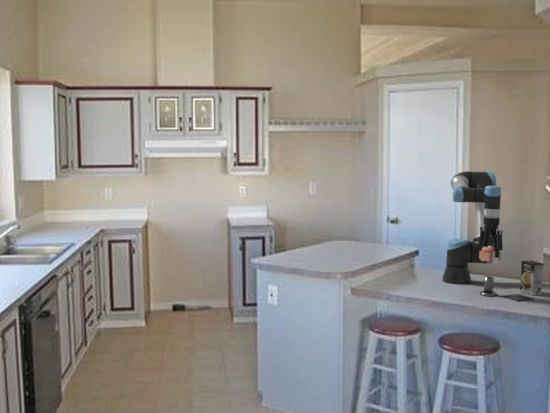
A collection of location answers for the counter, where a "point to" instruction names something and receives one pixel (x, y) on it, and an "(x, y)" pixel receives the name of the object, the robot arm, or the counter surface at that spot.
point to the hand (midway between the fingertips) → (489, 262)
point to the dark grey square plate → (518, 297)
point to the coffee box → (531, 277)
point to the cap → (488, 254)
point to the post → (488, 287)
